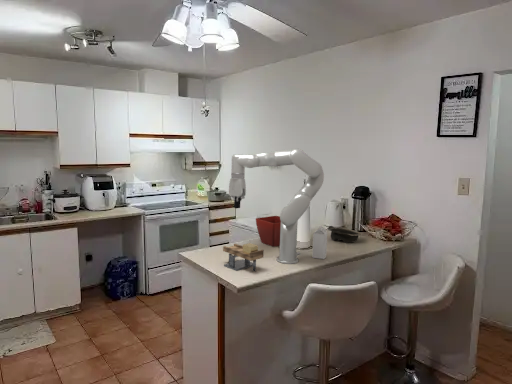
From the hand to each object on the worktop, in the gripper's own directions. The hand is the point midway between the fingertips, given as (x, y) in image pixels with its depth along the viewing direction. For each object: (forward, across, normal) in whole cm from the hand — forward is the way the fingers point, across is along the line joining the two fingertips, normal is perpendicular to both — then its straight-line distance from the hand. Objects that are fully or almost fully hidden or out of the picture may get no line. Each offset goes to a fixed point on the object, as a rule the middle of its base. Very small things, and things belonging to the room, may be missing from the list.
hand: (237, 207), depth 206 cm
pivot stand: (+29, +15, -9) cm, 34 cm away
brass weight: (+21, +21, -10) cm, 31 cm away
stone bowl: (+30, +20, +87) cm, 94 cm away
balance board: (+22, +15, -9) cm, 28 cm away
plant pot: (+29, -6, +40) cm, 50 cm away
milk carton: (+29, +32, +38) cm, 58 cm away
